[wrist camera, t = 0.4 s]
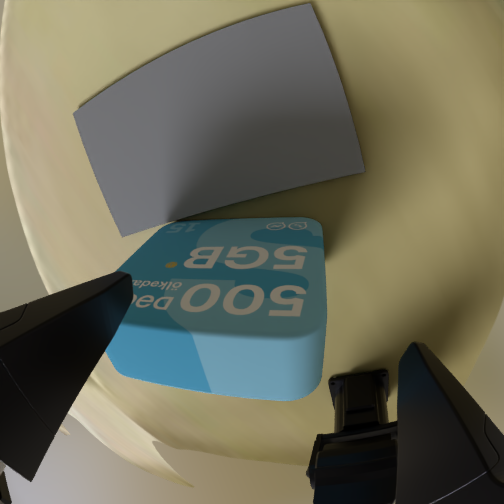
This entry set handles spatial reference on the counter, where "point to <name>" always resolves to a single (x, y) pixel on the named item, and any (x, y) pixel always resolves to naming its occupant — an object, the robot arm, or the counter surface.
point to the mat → (221, 122)
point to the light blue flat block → (227, 308)
